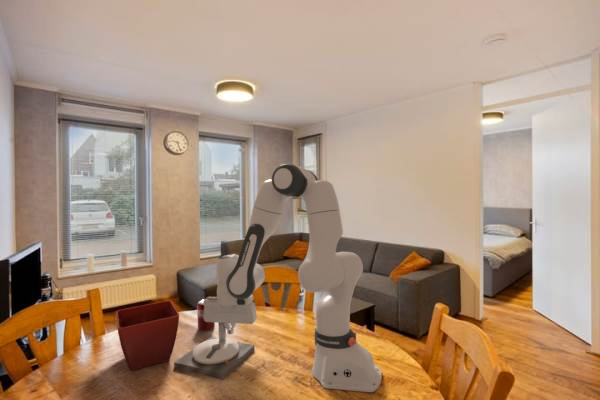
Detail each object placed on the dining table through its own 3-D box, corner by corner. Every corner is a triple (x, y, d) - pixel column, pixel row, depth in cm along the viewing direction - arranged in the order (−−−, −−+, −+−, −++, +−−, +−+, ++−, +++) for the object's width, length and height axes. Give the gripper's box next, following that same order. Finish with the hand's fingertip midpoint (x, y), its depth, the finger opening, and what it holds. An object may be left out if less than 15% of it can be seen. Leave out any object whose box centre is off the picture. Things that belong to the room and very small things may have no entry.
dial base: (254, 350, 118) (254, 343, 118) (223, 379, 99) (223, 372, 99) (210, 342, 125) (210, 335, 125) (174, 368, 106) (174, 360, 106)
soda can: (209, 332, 133) (209, 305, 133) (194, 331, 135) (194, 304, 135) (217, 325, 141) (217, 299, 140) (203, 324, 142) (202, 298, 142)
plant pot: (118, 379, 100) (117, 328, 100) (117, 354, 116) (115, 310, 116) (181, 362, 110) (179, 315, 110) (171, 341, 126) (170, 300, 126)
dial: (244, 342, 119) (244, 320, 119) (229, 365, 103) (229, 340, 103) (204, 341, 121) (204, 319, 121) (184, 363, 105) (183, 338, 105)
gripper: (199, 299, 116) (201, 335, 116) (251, 301, 112) (253, 338, 112) (207, 293, 122) (208, 328, 122) (257, 295, 118) (258, 331, 119)
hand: (230, 333), depth 117 cm, fingers closed
